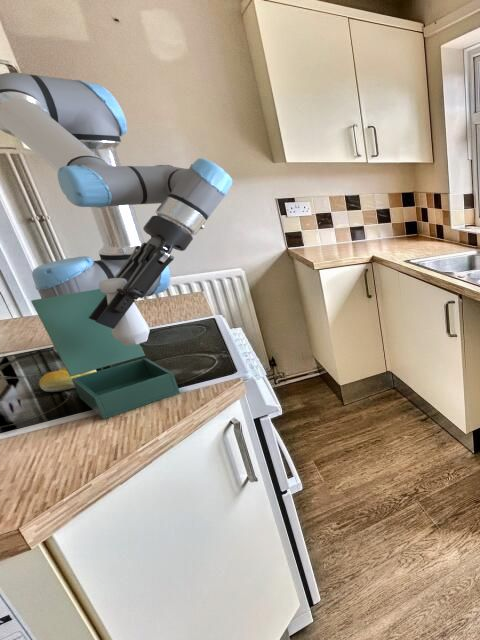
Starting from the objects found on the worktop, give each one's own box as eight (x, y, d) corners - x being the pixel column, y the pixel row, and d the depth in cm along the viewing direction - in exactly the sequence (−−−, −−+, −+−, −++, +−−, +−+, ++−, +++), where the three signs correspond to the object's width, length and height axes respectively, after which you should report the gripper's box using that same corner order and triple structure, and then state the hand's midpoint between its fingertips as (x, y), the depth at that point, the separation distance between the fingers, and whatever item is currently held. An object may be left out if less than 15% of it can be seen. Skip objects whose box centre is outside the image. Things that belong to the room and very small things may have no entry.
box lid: (112, 286, 91) (111, 287, 91) (31, 300, 82) (30, 301, 82) (145, 355, 94) (144, 356, 94) (70, 376, 84) (70, 376, 85)
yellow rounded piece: (32, 392, 90) (24, 375, 88) (79, 374, 98) (72, 358, 96) (63, 394, 88) (55, 377, 87) (108, 376, 96) (101, 360, 95)
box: (180, 392, 88) (172, 372, 86) (103, 419, 78) (94, 397, 77) (152, 376, 96) (145, 357, 94) (80, 398, 86) (71, 378, 85)
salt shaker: (122, 349, 82) (96, 284, 77) (111, 343, 85) (86, 280, 80) (158, 339, 87) (136, 277, 82) (146, 334, 89) (124, 274, 85)
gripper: (210, 239, 86) (138, 340, 79) (177, 235, 95) (110, 325, 88) (171, 214, 80) (89, 321, 73) (140, 212, 89) (64, 307, 82)
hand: (101, 323), depth 81 cm, fingers closed on salt shaker, 4 cm apart
